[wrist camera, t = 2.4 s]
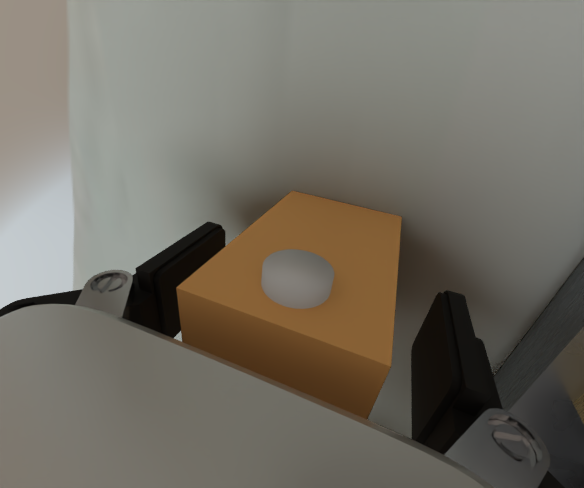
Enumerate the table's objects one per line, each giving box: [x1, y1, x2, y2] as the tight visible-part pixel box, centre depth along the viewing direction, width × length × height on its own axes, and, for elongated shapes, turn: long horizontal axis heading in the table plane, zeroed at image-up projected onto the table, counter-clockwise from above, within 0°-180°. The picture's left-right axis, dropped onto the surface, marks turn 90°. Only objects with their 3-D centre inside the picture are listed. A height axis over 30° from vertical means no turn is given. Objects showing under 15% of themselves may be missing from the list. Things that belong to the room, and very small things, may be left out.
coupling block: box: [176, 191, 402, 419], centre depth 11 cm, size 6×5×8 cm
